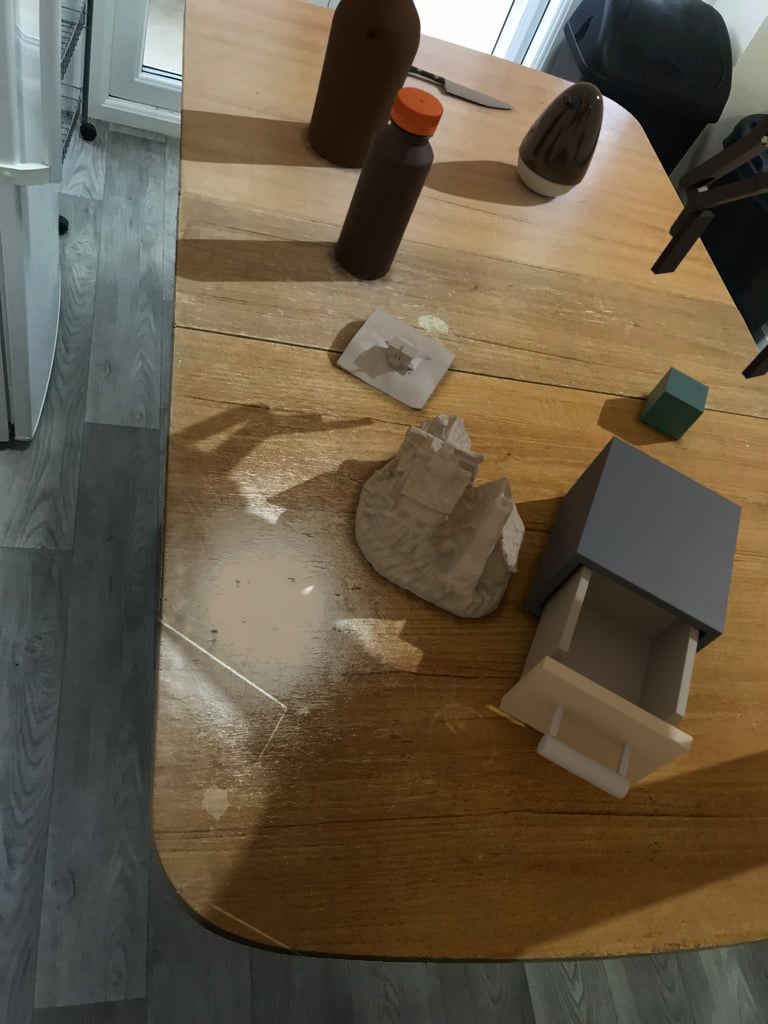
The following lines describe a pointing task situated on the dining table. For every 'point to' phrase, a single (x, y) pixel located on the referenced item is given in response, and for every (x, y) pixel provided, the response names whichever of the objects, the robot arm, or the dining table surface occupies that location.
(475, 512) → the castle ruin model
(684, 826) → the dining table surface
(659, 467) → the cabinet
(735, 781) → the dining table surface
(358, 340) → the grey tile
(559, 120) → the two-tone egg figure
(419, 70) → the chef's knife
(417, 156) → the bottle
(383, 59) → the olive oil
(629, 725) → the drawer
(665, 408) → the block
